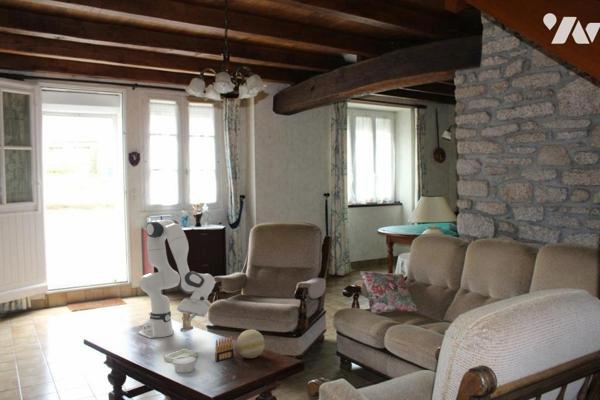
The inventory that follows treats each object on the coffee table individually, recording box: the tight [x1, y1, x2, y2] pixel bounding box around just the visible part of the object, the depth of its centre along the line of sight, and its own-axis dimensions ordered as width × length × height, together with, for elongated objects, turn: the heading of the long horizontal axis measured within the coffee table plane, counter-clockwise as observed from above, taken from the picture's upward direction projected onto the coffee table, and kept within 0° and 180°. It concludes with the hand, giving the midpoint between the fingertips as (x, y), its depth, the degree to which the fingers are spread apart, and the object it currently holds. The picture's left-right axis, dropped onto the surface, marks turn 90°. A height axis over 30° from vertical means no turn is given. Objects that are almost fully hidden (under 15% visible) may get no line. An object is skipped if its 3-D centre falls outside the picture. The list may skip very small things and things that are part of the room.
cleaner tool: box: [179, 312, 194, 333], centre depth 292 cm, size 3×7×10 cm, turn 147°
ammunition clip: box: [214, 335, 235, 364], centre depth 272 cm, size 11×2×12 cm, turn 130°
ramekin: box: [172, 356, 197, 374], centre depth 259 cm, size 11×11×5 cm
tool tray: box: [163, 348, 199, 364], centre depth 276 cm, size 11×15×2 cm
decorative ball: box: [236, 328, 266, 359], centre depth 275 cm, size 15×15×15 cm
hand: (185, 320), depth 291 cm, fingers closed on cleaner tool, 3 cm apart
